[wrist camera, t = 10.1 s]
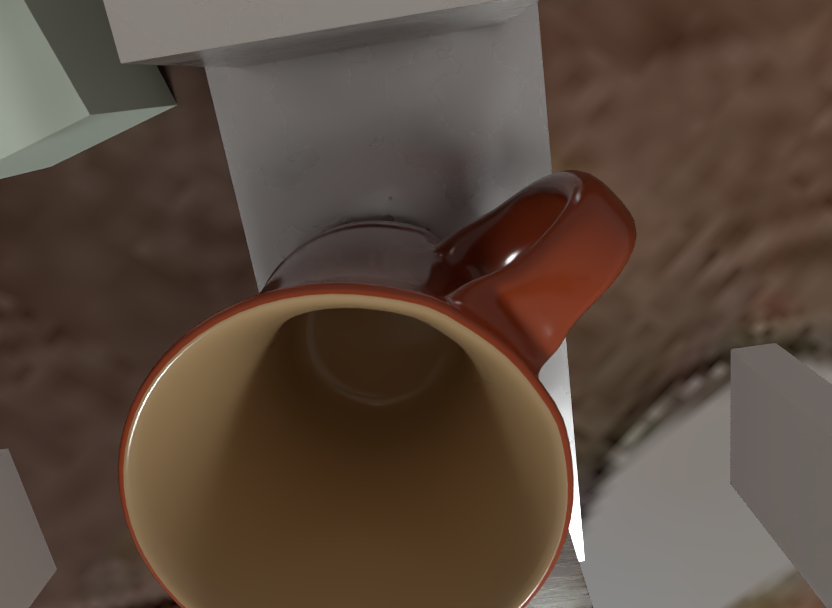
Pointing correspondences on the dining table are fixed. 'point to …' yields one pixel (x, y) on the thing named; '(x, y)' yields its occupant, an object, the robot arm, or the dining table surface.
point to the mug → (376, 416)
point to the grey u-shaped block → (369, 129)
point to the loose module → (66, 83)
